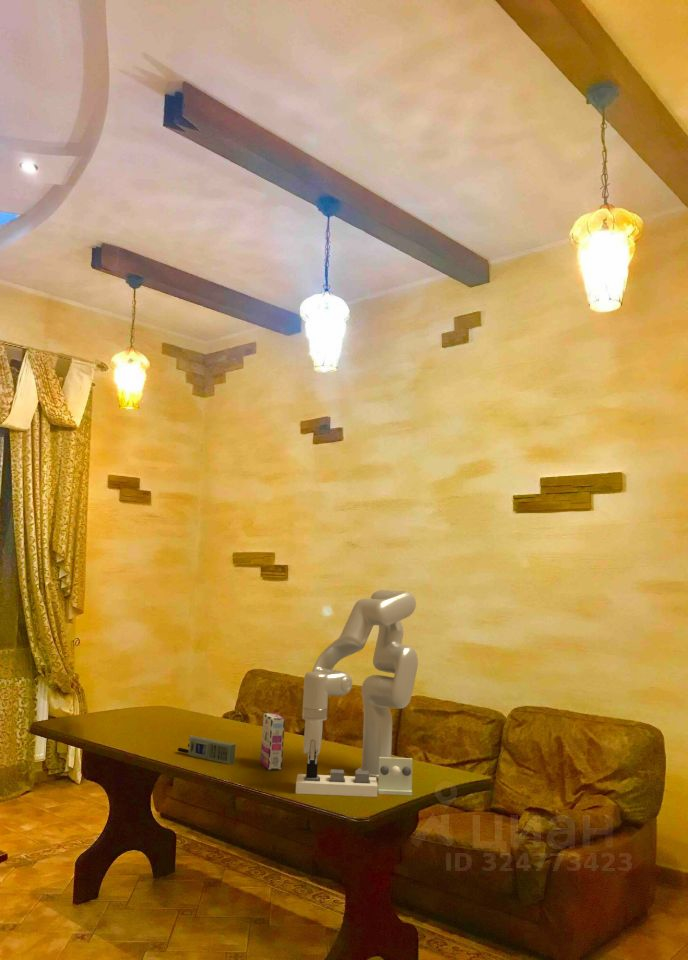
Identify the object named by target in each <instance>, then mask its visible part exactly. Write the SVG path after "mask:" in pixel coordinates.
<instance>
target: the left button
mask: <svg viewBox="0 0 688 960" xmlns="http://www.w3.org/2000/svg"><path fill="white" fill-rule="evenodd" d="M305 781H319V776H317V778H307V777H305Z"/></svg>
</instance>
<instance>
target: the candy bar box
mask: <svg viewBox="0 0 688 960" xmlns="http://www.w3.org/2000/svg"><path fill="white" fill-rule="evenodd" d="M262 719H263V720H262V721H263V722H262V731H261V733H262V735H261V746H260V747H261V750H260V760H259V761H260V764H261V765H262V766H263V767H264V768H266V769H267V770H268V771H281V770H282V769H283V753H284V741H285V739H284V738H285V721H286V719H285V718H284V716H283V717H282V715H280V714H278V713H276V712H275V713H274V712H271V713H267V712H266V713H263V717H262Z"/></svg>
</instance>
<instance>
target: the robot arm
mask: <svg viewBox="0 0 688 960" xmlns="http://www.w3.org/2000/svg"><path fill="white" fill-rule="evenodd" d="M416 605H417V601H416V598H415V595H413V594H412V593H411V592H410V591H405V590H404V591H403V590H389V589H388V590H384V589H382V590H376V591H374V592H373V593H372V595H371V597H370V598H361V599H358V600H357V601H356V602H355V604H354V605H353V608H352V609H351V612H350V614H349V615H348V618H347V620H346V623H345V625H344V627H343V629H342V631H341V634H340V635H339V637H338V638H337V639H336V640H334V641H333V642H332V643H330V644H329V645H328V646H327V647H326V648H325V649H324V650H323V651H322V652H321V653H320V654H319V656H318V658H317V659H316V661H315V663H314V666H313V668H312V670H311V671H308V672H306V673H305V675H304V677H303V680H304V681H303V698H302V700H303V701H302V717H301V718H302V720H304V721H305V724H304V734H303V748H302V749H303V751H302V753H303V754H304V755H306V754H307V763H306V777H307V778H317V775H318V768H319V767H318V766H319V765H318V764H319V763H318V756H319V754H320V751H321V746H322V738H323V727H324V721H326V720H327V719H328V705H329V703H328V701H329V696H331V697H332V696H334V697H343V696H345V695H347V694H348V693H350V692H351V690H352V688H353V679H352V677H351V676H350V674H349V673H347V672H345V671H342V670H337V669H334V667H335V666H336V665H337V664H338V663H339V662H340V661H342V660H343V659H344V658H346V657H349V656H351V655H353V654H356V653H358V652H360V651H362V650H363V649H364V648H365V646H366V644H367V641H368V639H369V636H370V634H371V632H372V630H373V627H374V626H378V632H377V633H378V634H377V638H376V643H375V647H374V651H373V658H372V665H373V667H374V668H375V669H376V670H377V671H379V672H384V673H388V674H389V673H391V674H393V677H392V676H388V675H380V674H373V675H370V676H368V677H366V678H365V679H364V681H363V682H362V686H361V697H362V703H363V726H362V727H363V729H362V731H363V732H362V750H361V751H362V754H361V758H362V759H361V760H362V761H361V766H360V767H358V768H357V769H356V770H358V771H369V777H376V780H378V778H379V757H391V758H392V743H393V739H392V738H393V735H392V734H393V717H392V712H391V710H390V708H391V709H392V708H393V709H398V710H399V709H404V708H406V707H407V706H408V705H409V704H410V702H411V699H412V695H413V693H414V692H413V691H414V687H415V681H416V676H417V671H418V666H419V662H418V661H419V659H418V654H417V651H416V650H415V649H414V648H413V647H411V646H409V645H404V644H403V637H404V626H403V623H402V620H405V619H407V618H409V617H410V616H411V615H412V614H414V612H415V610H416V607H417V606H416Z"/></svg>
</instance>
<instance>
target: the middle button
mask: <svg viewBox="0 0 688 960" xmlns="http://www.w3.org/2000/svg"><path fill="white" fill-rule="evenodd" d="M344 776H345V770H344V769H336V768H335V769H330V782H344Z"/></svg>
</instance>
